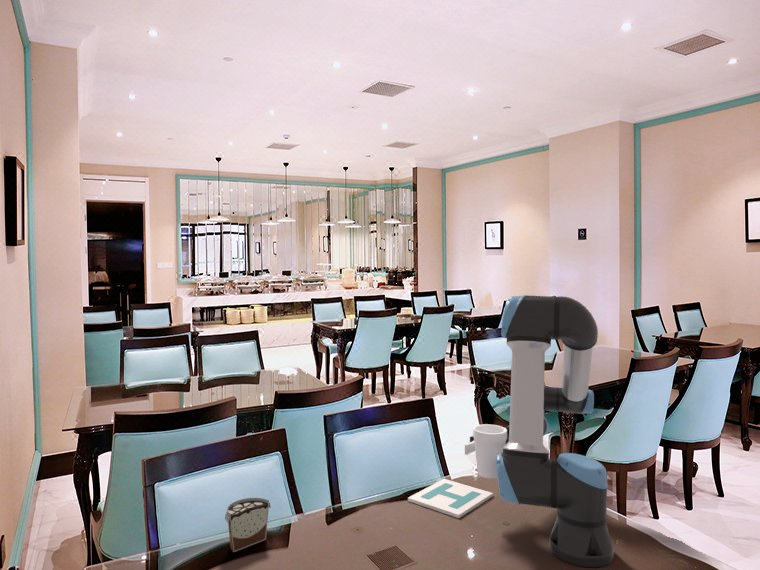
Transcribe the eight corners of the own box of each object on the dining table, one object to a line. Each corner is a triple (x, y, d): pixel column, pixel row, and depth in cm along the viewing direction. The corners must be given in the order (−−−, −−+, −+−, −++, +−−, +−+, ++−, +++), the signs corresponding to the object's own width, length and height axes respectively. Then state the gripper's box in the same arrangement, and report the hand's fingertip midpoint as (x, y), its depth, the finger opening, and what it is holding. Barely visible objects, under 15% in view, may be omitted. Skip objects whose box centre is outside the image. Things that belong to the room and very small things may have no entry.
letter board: (492, 496, 173) (493, 492, 173) (458, 518, 157) (458, 514, 157) (444, 481, 184) (444, 478, 184) (407, 500, 169) (407, 497, 169)
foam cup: (509, 481, 154) (509, 434, 153) (475, 480, 154) (476, 433, 153) (502, 468, 163) (502, 424, 163) (470, 467, 163) (471, 424, 163)
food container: (257, 529, 150) (258, 492, 149) (270, 537, 145) (270, 499, 145) (215, 545, 141) (215, 506, 141) (228, 554, 137) (228, 514, 136)
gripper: (552, 455, 165) (518, 477, 148) (486, 439, 179) (448, 458, 162) (553, 430, 165) (518, 449, 147) (486, 416, 179) (448, 432, 162)
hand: (481, 453), depth 155 cm, fingers closed on foam cup, 9 cm apart
